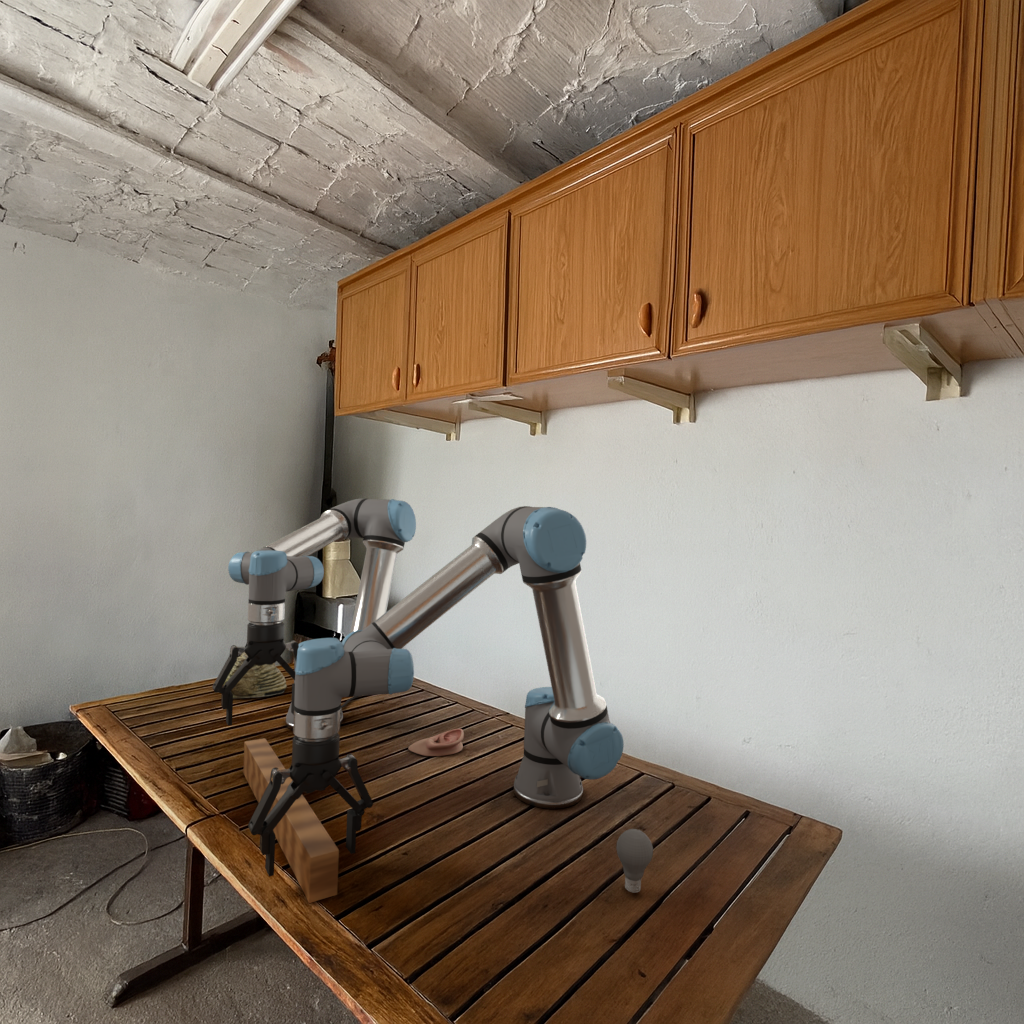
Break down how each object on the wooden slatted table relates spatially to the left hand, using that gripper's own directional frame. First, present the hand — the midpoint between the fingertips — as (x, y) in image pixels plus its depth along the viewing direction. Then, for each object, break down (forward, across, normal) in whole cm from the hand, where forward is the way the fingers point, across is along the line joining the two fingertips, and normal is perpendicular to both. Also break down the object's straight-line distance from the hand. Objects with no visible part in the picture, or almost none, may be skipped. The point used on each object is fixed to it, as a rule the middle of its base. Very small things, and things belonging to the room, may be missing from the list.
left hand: (262, 718), depth 138 cm
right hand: (+12, 0, -39) cm, 41 cm away
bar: (+14, 0, -20) cm, 24 cm away
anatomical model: (+14, +43, 0) cm, 45 cm away
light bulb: (+14, +45, -69) cm, 84 cm away
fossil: (+14, +11, +64) cm, 66 cm away
